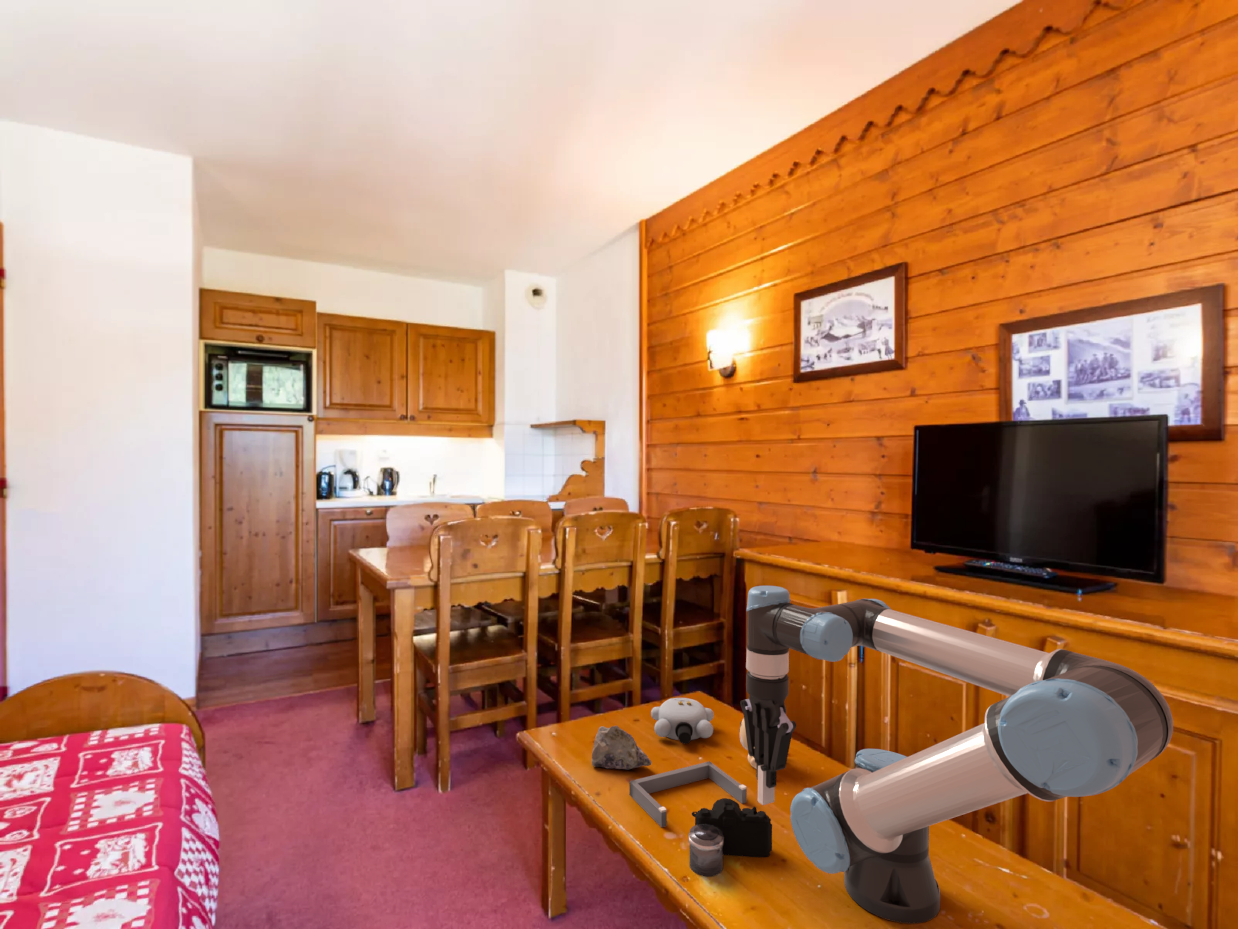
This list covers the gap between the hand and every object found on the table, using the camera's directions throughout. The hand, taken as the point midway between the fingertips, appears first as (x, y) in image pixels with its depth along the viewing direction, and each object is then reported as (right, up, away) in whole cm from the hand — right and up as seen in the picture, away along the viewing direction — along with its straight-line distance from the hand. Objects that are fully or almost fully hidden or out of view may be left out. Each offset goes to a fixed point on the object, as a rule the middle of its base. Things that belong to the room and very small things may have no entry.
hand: (766, 801), depth 115 cm
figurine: (-9, -12, +57) cm, 59 cm away
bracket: (-12, -12, +23) cm, 29 cm away
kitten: (+8, -12, +39) cm, 42 cm away
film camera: (-5, -12, +8) cm, 16 cm away
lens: (-11, -12, 0) cm, 16 cm away
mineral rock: (-27, -12, +37) cm, 47 cm away
